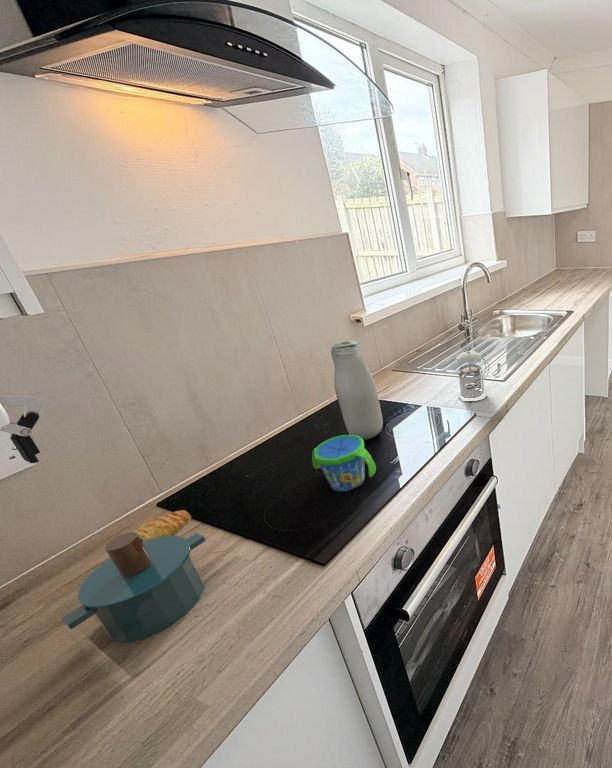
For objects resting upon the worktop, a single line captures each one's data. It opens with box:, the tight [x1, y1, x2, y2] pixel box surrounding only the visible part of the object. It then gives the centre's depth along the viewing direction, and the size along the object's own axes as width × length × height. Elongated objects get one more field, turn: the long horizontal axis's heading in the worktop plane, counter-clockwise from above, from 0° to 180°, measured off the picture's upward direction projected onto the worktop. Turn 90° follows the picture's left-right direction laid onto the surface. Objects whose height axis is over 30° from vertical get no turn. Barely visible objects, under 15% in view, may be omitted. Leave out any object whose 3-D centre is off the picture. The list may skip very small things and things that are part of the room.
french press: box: [455, 321, 490, 403], centre depth 132 cm, size 10×12×25 cm
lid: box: [77, 531, 192, 609], centre depth 64 cm, size 14×14×7 cm
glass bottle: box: [330, 340, 384, 441], centre depth 110 cm, size 10×10×28 cm
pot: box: [60, 532, 207, 644], centre depth 66 cm, size 13×18×8 cm
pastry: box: [131, 509, 192, 542], centre depth 84 cm, size 9×7×4 cm
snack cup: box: [311, 434, 377, 493], centre depth 94 cm, size 16×10×10 cm
